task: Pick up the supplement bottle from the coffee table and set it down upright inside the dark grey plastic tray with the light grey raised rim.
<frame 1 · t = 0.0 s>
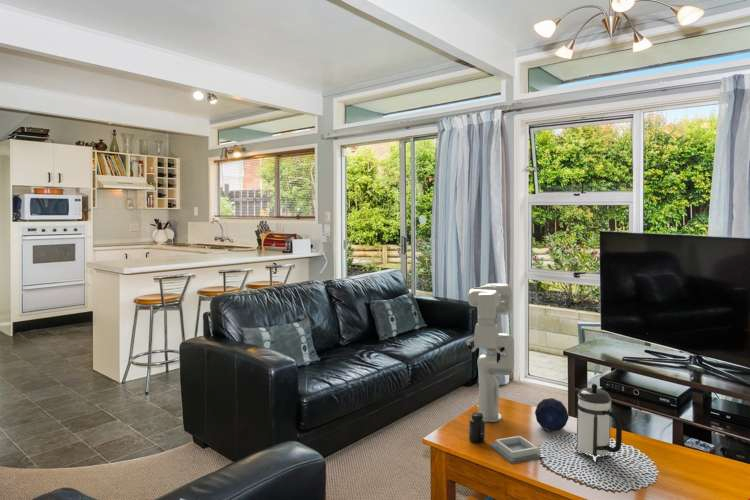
hand: (486, 361, 214), 37 cm above the table, tool pointing down, fingers open, 9 cm apart
rimmed tray: (516, 451, 210), on the table
coffee press: (595, 456, 207), on the table
supplement bottle: (476, 441, 221), on the table
decorative orb: (551, 429, 233), on the table
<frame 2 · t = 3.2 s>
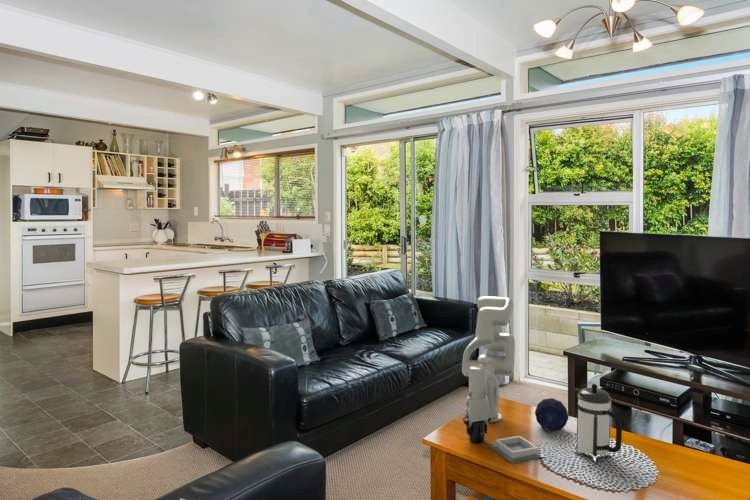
hand: (476, 433, 221), 3 cm above the table, tool pointing down, fingers closed on supplement bottle, 6 cm apart
supplement bottle: (476, 441, 221), on the table, touching gripper
everything else where it was.
when the fingers open (5 cm above the table, at t = 10.6 s): supplement bottle drops 1 cm, resting on rimmed tray.
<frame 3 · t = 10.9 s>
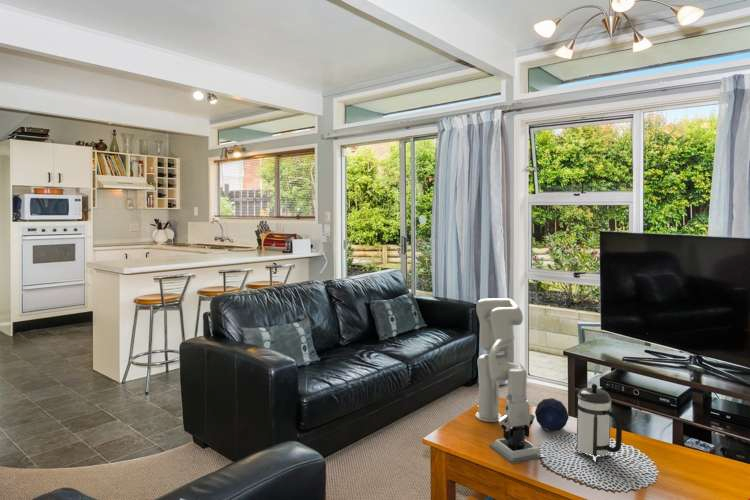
hand: (516, 437, 210), 6 cm above the table, tool pointing down, fingers open, 9 cm apart
supplement bottle: (516, 449, 210), point 1 cm above the table, touching rimmed tray
everything else where it was.
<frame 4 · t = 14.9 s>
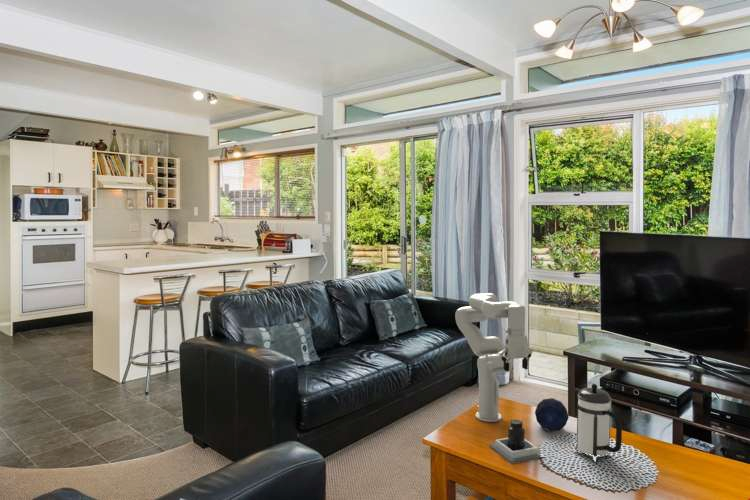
hand: (515, 369, 225), 30 cm above the table, tool pointing down, fingers open, 9 cm apart
nothing on the table moved.
at the end: supplement bottle 0.2 cm off-centre on the rimmed tray, point 0.8 cm above the rimmed tray's base; supplement bottle tilted 0°; the gripper is holding nothing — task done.
